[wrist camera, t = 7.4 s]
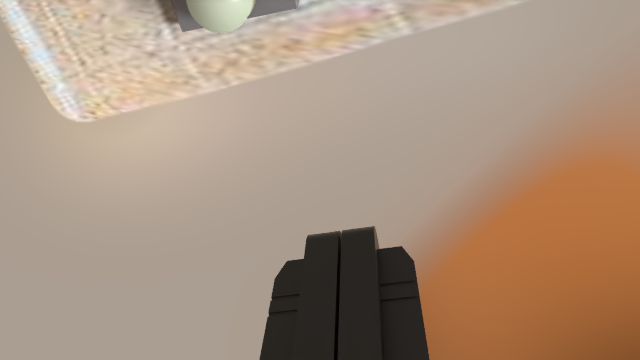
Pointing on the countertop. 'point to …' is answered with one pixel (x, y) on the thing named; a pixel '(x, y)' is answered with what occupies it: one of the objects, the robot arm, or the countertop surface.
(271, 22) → the countertop surface
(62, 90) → the countertop surface
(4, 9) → the countertop surface
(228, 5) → the sage button
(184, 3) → the button panel
